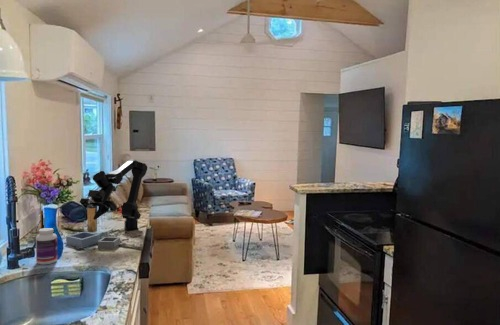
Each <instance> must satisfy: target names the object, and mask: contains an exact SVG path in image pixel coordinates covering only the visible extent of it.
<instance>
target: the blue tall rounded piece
mask: <svg viewBox="0 0 500 325" xmlns="http://www.w3.org/2000/svg"><path fill="white" fill-rule="evenodd" d="M43 199H44V200H45V202H46V204H47V205H48V202H49V201H50V200H52V201H53V202H54V203H55V205H57V203H56V202H55V200H54V199H53V198H49V199H48V201H47V199H46V198H45V197H43ZM41 203H42V202H40V203H39V209H40V211H39V215H40V216H39V217H40V220H39V222H38V224H37V227H36V230H35V233H36V234H39V231H38V232H37V230H38V228H39V225H40V229H42V228H44V225H43V210H44V209H41V207H42V206H41ZM46 204H45V205H46ZM57 214H58V216H60V213H59V211H57ZM59 226H60V222H58V225H57V228H58V227H59ZM60 233H61V236H63V231H60Z"/></svg>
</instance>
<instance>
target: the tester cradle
mask: <svg viewBox="0 0 500 325" xmlns="http://www.w3.org/2000/svg"><path fill="white" fill-rule="evenodd" d="M119 246H121V237H119V236H117V237H116V236H103V237H102V238H100V240H99V241H98V243H97V249H99V250H103V249H104V250H115V249H116V248H117V247H119Z"/></svg>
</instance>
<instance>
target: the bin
mask: <svg viewBox="0 0 500 325" xmlns="http://www.w3.org/2000/svg"><path fill="white" fill-rule="evenodd" d="M99 240H101V235H100V234H99V233H96V232H91V233H90V232H87V231H86V230H85V231H81V232H77V233H73V234H70V235H66V237H65V241H66V242H65V243H66V245H69V246H73V247H76V248H81V249H83V248H86V247H89V246H92V245H95V244H98V241H99Z"/></svg>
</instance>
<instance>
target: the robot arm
mask: <svg viewBox="0 0 500 325" xmlns="http://www.w3.org/2000/svg"><path fill="white" fill-rule="evenodd" d="M130 171H131V173H132V180H131V185H130V188H129V193H128V198H127V200H126V202H123V203H122V207H121V216H122V219H125V220H124V222H123V223H124V224H123V225H124V229H125V230H126V231H133V230H134V231H135V230H139V228H138V225H139V224H138V220H139V219H141V213H140V212H139V210H138V209H139V207H138V206H139V205H138V203H137V199H138V198H139V196H138V195H139V192H140V187H141V184H142V179H143V178H144V176H146V174H147V171H148V165H147V164H146V163H145V162H140V161H138V160H136V159H128V160H127V161H126V162H125V163H123V164H122V165H121V166H119V168H117V169H115V170H112V171H109V172H108V173H105V171H104V170H100V171H99V172H97V173H95V174H94V175H93V176H92V181H93V182H94V183H95V184H96V185H97V187H98V188H99V190H96V189H95V190H94V189H89V191H88V193H87V197H89V198H86V197H82V198H80V200H79V203H80V204H81V205H82V207H83V208H85V209H87V205H97V207H98V208H97V213H96V214H95V216H94V220H96V219H97V220H98V219H99V218H100V217H102V216H103V215H105V214H106V213H109V212H116V211H117V209H118V206H117V204H116V203H115V202H114V201H113V200H110V199H111V197H110V196H112V193H113V192H116V191H117V188H116V185H119V184H120V183H121V182H122V181H123V179H124V176H125V175H127V174H128V173H129V172H130ZM90 198H91V199H90ZM91 200H92V201H91ZM85 213H86V214H85V219H86V220H87V210H86V212H85Z"/></svg>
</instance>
